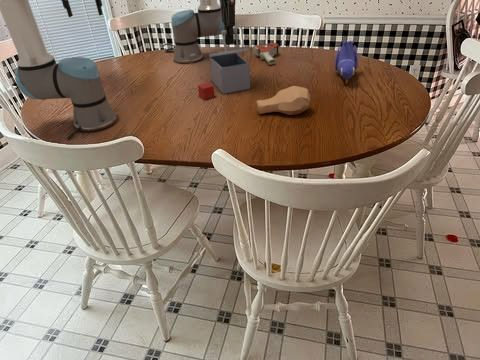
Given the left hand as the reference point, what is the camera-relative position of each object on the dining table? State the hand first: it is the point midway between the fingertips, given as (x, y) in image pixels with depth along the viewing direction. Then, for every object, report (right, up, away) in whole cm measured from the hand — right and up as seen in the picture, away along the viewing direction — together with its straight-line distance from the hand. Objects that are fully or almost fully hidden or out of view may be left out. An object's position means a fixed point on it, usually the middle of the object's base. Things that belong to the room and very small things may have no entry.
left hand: (85, 15), depth 157 cm
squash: (+84, -47, -25) cm, 100 cm away
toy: (+114, -28, -1) cm, 118 cm away
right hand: (+64, -17, -14) cm, 68 cm away
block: (+54, -38, -9) cm, 67 cm away
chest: (+64, -31, 0) cm, 71 cm away
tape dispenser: (+82, -10, +27) cm, 87 cm away
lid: (+63, -20, -8) cm, 67 cm away
